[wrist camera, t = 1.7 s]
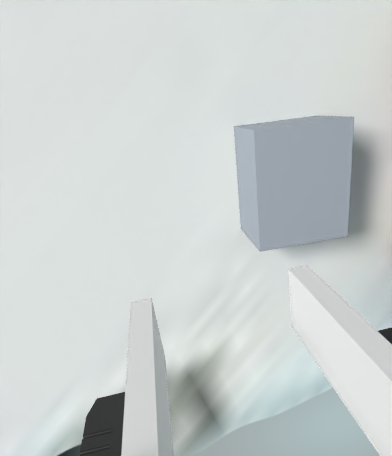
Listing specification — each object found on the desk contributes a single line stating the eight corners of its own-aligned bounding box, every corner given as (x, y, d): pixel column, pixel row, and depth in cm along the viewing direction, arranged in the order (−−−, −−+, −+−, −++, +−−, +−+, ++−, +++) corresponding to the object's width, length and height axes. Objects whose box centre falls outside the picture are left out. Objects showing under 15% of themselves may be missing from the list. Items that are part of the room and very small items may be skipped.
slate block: (233, 126, 30) (254, 130, 24) (315, 115, 31) (354, 116, 25) (240, 228, 34) (259, 251, 28) (314, 215, 34) (347, 236, 29)
